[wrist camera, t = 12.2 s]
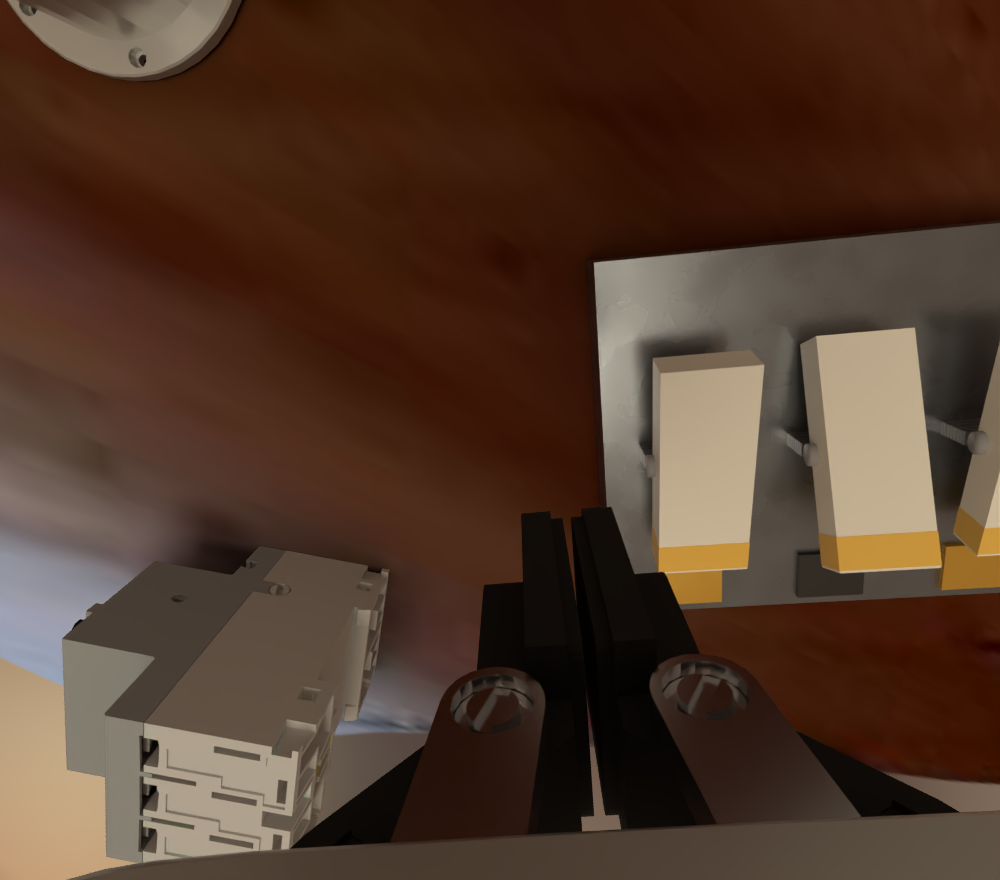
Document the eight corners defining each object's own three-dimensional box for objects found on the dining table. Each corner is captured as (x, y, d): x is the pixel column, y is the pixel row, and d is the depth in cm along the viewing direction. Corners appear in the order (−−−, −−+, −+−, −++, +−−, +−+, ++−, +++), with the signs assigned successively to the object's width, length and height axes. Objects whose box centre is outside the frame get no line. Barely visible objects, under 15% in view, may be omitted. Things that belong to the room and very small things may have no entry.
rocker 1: (645, 357, 27) (653, 374, 25) (756, 348, 27) (772, 364, 25) (645, 549, 32) (652, 574, 30) (741, 543, 31) (753, 568, 29)
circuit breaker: (163, 527, 40) (-49, 686, 25) (389, 569, 40) (305, 753, 25) (161, 630, 42) (-35, 830, 28) (375, 670, 42) (290, 891, 28)
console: (586, 260, 34) (597, 263, 27) (1031, 216, 32) (1157, 209, 25) (603, 567, 39) (616, 632, 32) (987, 545, 37) (1083, 609, 30)
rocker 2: (792, 345, 29) (809, 336, 27) (898, 336, 29) (922, 326, 27) (814, 567, 28) (832, 573, 27) (922, 561, 28) (949, 567, 26)
